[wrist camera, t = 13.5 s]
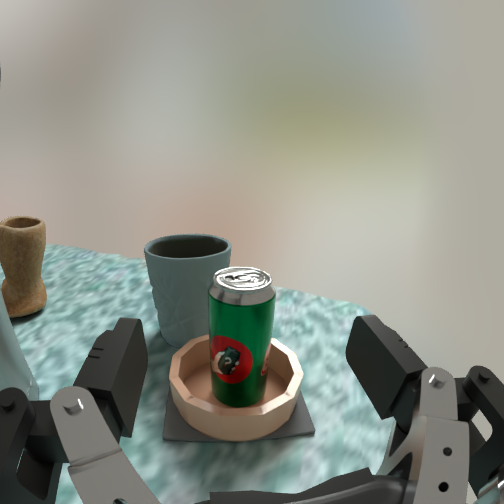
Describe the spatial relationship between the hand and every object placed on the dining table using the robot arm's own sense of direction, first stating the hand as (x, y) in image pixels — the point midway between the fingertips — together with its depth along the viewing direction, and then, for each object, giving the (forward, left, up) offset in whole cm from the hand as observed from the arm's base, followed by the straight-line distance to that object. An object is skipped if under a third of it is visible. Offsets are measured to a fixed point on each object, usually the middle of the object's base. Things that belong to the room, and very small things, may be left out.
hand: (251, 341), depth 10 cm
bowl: (0, +11, -14) cm, 18 cm away
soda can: (+1, +10, -14) cm, 17 cm away
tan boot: (-36, +28, -15) cm, 47 cm away
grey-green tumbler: (-5, +23, -15) cm, 28 cm away
